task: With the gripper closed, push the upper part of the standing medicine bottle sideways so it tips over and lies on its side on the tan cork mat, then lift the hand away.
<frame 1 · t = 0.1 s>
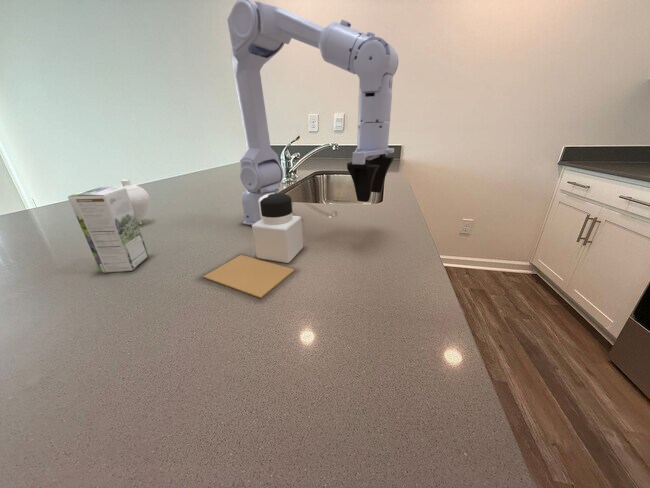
hand: (369, 196, 52), 10 cm above the counter, tool pointing down, fingers open, 7 cm apart
syrup box: (127, 265, 50), on the counter
medicine bottle: (280, 253, 53), on the counter
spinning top: (141, 225, 70), on the counter
cork mat: (249, 274, 45), on the counter
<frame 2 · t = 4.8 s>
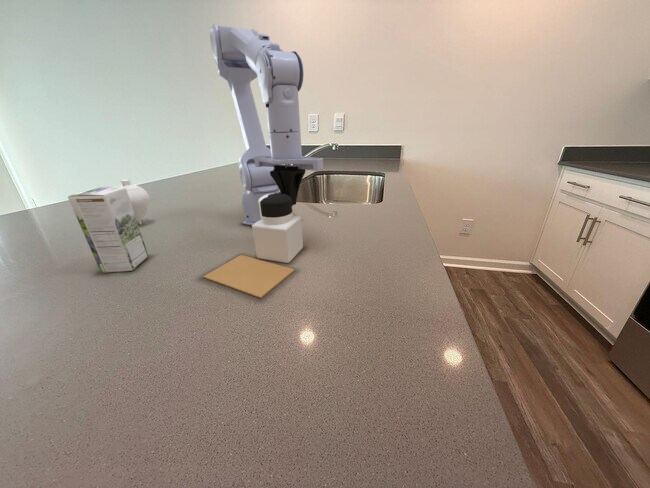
hand: (290, 204, 52), 9 cm above the counter, tool pointing down, fingers closed, pressing on medicine bottle
medicine bottle: (281, 253, 53), on the counter, touching gripper
everything else where it was.
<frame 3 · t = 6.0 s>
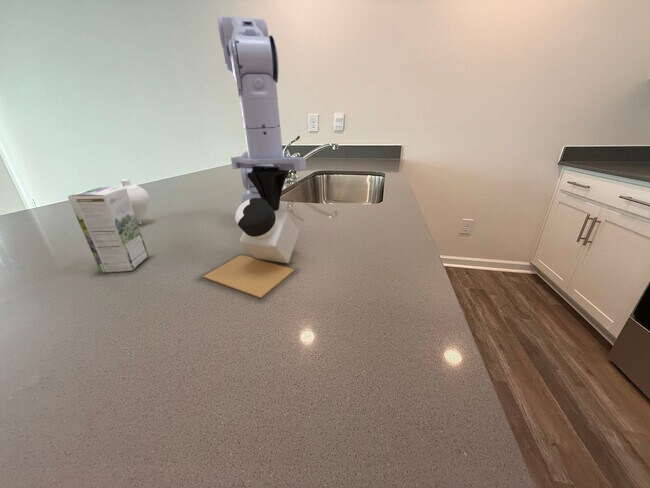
hand: (272, 210, 47), 10 cm above the counter, tool pointing down, fingers closed, pressing on medicine bottle
medicine bottle: (278, 245, 51), point 2 cm above the counter, touching gripper
everything else where it was.
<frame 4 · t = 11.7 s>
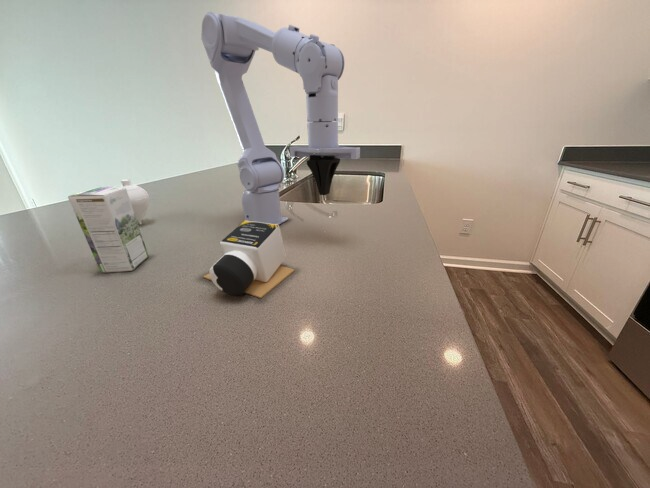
hand: (324, 193, 54), 10 cm above the counter, tool pointing down, fingers closed
medicine bottle: (266, 237, 47), point 5 cm above the counter, touching cork mat
everything else where it was.
at the end: medicine bottle tilted 101°; medicine bottle inside the target area (3.4 cm from its centre), point 5.2 cm above the counter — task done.
